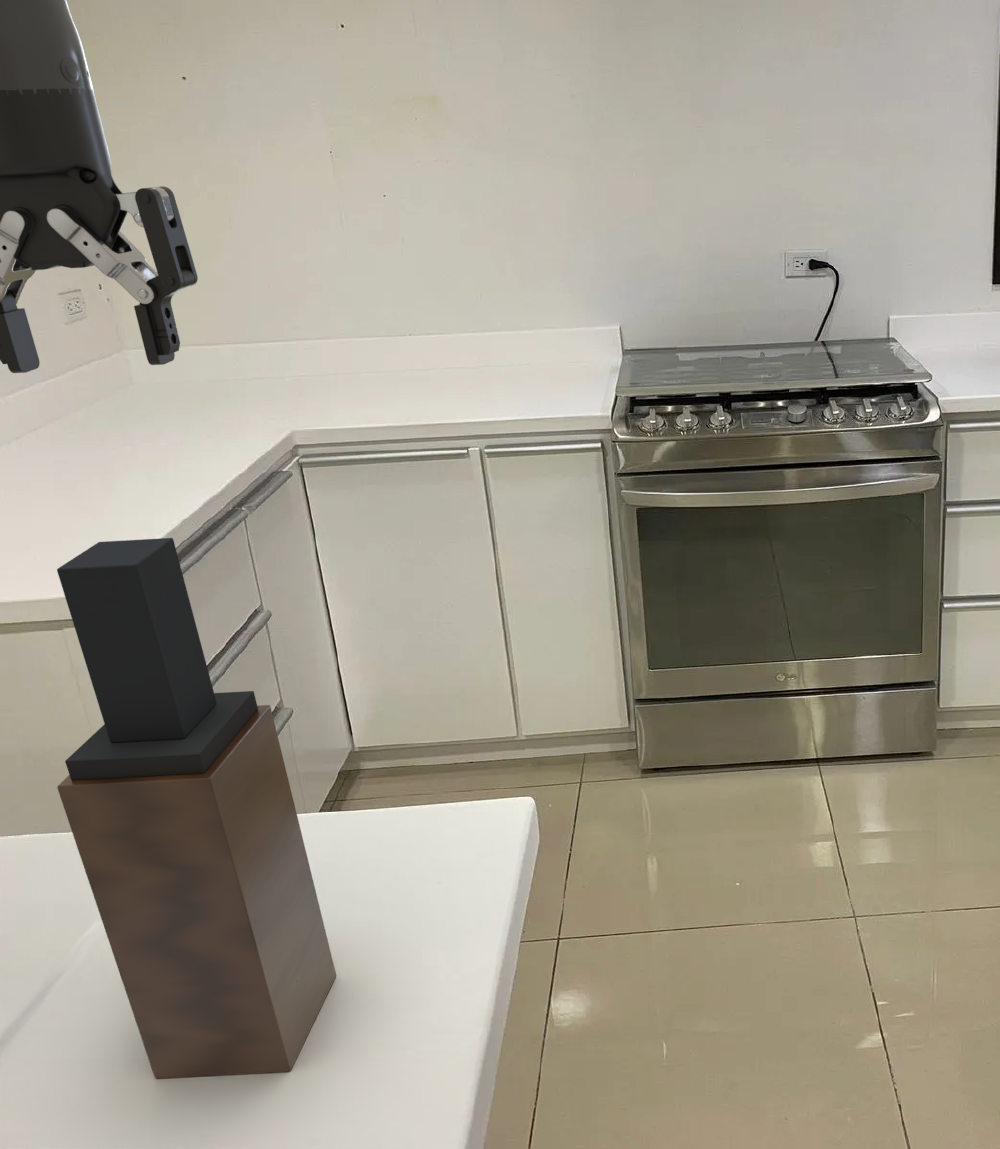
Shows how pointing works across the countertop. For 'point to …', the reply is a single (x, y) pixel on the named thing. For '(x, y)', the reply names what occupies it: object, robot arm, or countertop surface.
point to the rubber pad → (165, 746)
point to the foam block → (138, 638)
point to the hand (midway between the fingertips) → (94, 366)
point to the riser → (208, 907)
